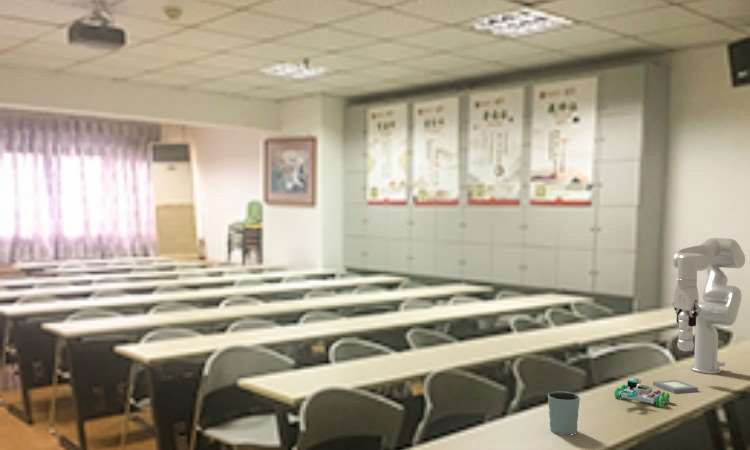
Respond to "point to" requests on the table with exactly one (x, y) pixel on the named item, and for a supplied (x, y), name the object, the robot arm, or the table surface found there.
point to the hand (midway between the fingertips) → (686, 324)
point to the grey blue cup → (563, 412)
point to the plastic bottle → (685, 332)
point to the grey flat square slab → (675, 386)
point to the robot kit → (641, 393)
